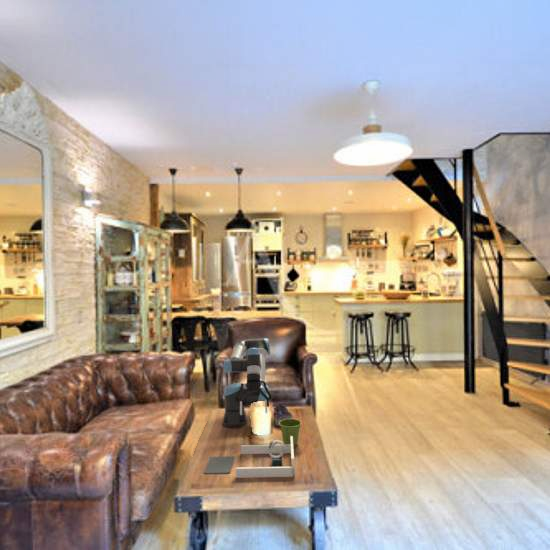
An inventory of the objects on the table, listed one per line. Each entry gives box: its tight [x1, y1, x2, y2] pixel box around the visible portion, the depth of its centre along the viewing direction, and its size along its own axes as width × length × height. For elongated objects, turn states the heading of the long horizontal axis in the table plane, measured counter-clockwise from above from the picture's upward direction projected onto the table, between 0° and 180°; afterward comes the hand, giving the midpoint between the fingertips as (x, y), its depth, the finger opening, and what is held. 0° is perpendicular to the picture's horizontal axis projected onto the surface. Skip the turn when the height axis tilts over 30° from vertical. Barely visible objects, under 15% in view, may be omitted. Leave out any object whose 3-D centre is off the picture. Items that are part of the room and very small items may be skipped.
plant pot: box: [279, 418, 302, 447], centre depth 211 cm, size 12×12×11 cm
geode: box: [272, 402, 293, 428], centre depth 244 cm, size 20×12×10 cm, turn 9°
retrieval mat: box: [203, 455, 235, 475], centre depth 190 cm, size 16×12×1 cm
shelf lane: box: [235, 436, 295, 479], centre depth 189 cm, size 24×26×8 cm
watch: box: [268, 439, 285, 467], centre depth 189 cm, size 6×8×11 cm
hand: (253, 413), depth 213 cm, fingers open, 13 cm apart
